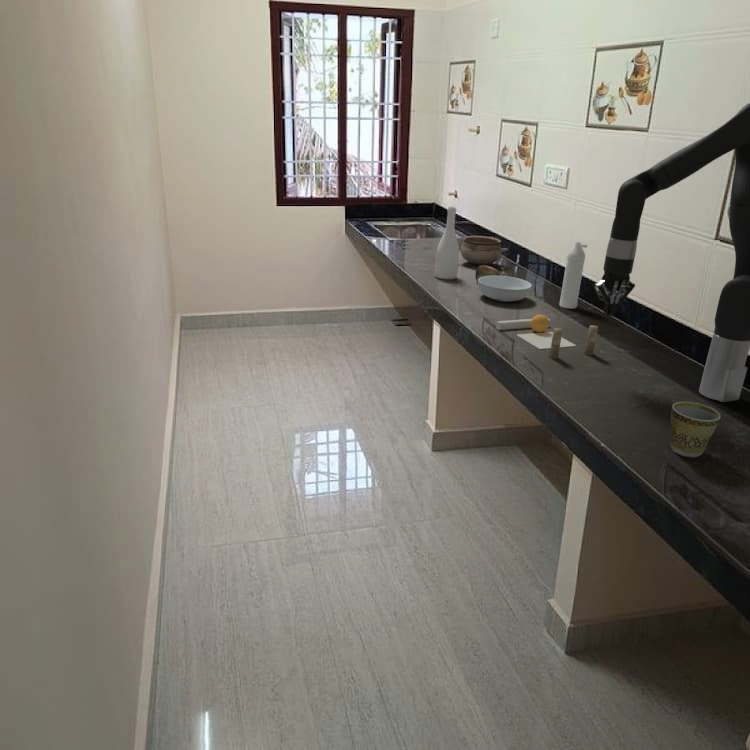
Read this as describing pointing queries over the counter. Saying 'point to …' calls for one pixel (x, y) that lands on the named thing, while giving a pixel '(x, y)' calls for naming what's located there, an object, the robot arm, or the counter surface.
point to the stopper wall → (514, 324)
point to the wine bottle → (448, 250)
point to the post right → (591, 340)
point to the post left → (555, 343)
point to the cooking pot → (481, 250)
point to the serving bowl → (504, 288)
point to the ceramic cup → (692, 427)
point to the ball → (539, 323)
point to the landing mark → (543, 340)
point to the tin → (485, 271)
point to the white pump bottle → (572, 276)
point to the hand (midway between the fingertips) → (608, 315)
